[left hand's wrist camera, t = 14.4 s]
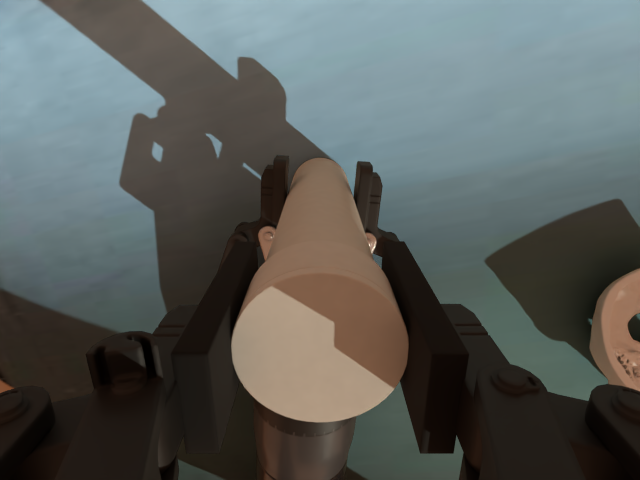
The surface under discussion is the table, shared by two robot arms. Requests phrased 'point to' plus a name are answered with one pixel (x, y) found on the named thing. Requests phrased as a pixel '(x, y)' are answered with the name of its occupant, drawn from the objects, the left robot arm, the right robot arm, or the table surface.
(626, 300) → the skull bowl
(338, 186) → the slender beige bottle
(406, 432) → the table surface
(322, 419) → the lid
